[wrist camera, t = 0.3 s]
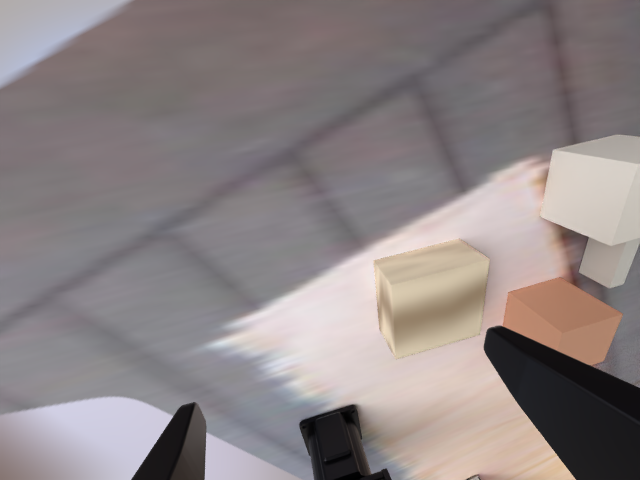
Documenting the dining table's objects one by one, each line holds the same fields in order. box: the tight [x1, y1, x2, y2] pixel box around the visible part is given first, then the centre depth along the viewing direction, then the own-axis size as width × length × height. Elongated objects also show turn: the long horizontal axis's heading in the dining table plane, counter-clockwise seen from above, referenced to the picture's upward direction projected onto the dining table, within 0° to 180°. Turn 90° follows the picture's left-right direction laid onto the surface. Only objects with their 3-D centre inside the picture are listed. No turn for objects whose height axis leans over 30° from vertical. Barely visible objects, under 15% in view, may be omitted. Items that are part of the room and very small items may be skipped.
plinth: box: [579, 237, 640, 288], centre depth 28 cm, size 8×2×3 cm, turn 10°
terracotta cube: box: [503, 277, 623, 365], centre depth 29 cm, size 6×6×6 cm
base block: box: [373, 239, 490, 359], centre depth 25 cm, size 8×8×4 cm
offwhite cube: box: [540, 135, 640, 246], centre depth 23 cm, size 6×6×6 cm
